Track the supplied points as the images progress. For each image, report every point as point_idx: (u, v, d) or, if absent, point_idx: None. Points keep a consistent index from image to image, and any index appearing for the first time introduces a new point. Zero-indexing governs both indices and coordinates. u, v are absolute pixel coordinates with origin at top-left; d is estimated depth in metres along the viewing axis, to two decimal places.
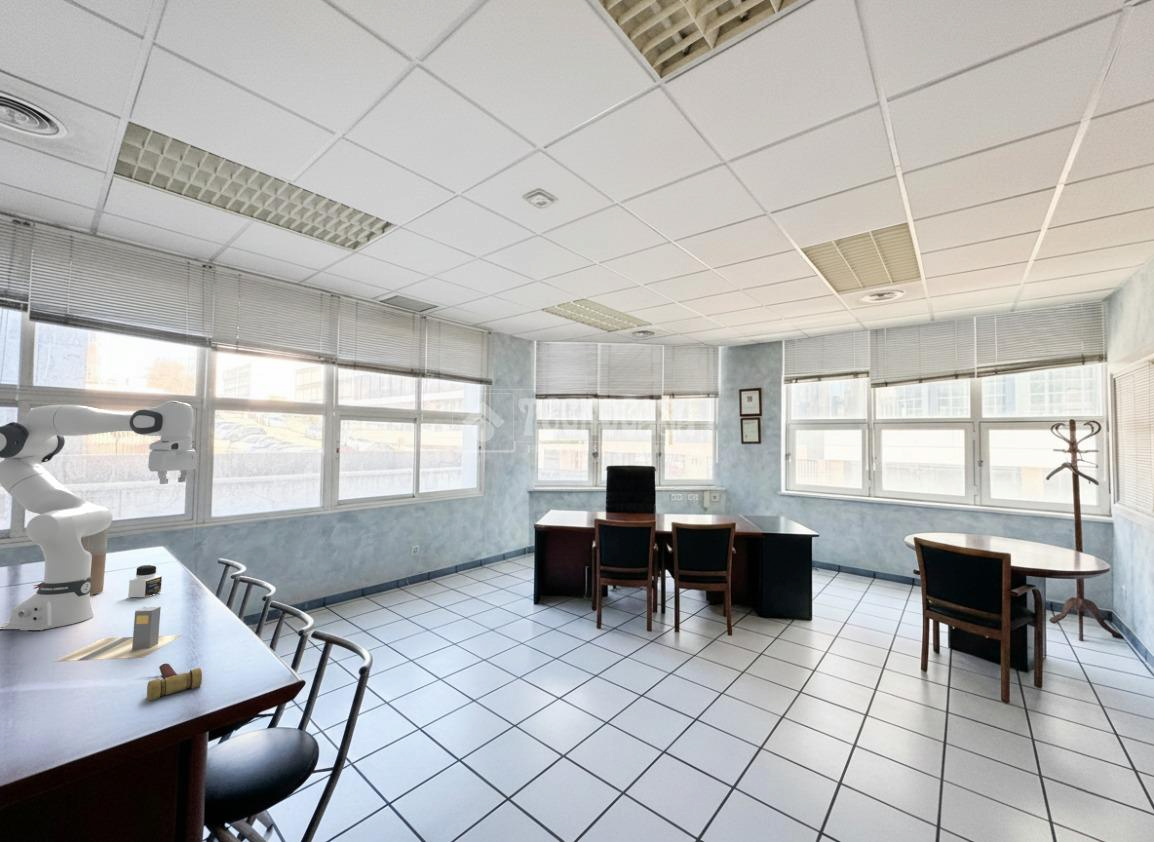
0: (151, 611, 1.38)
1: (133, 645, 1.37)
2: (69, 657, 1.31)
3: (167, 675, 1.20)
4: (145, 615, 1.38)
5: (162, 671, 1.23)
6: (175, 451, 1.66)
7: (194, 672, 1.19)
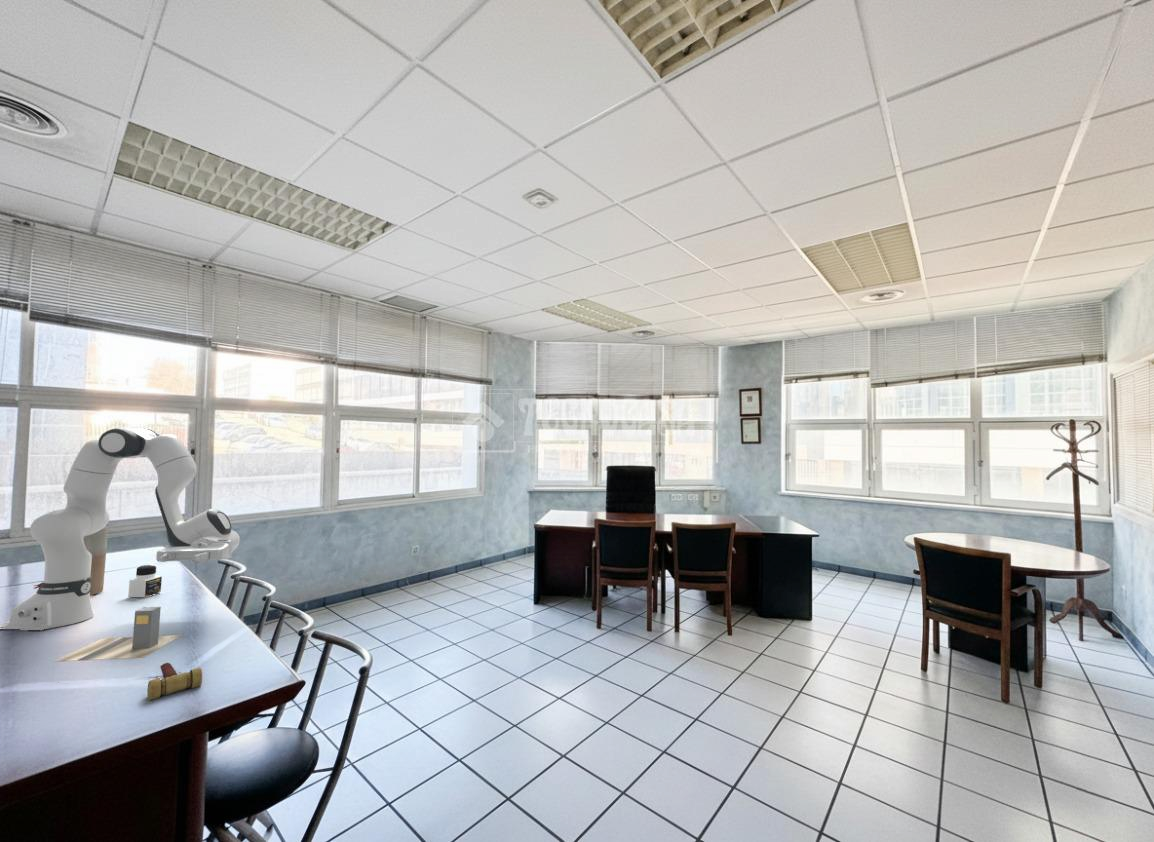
0: (151, 611, 1.38)
1: (133, 645, 1.37)
2: (69, 657, 1.31)
3: (167, 675, 1.20)
4: (145, 615, 1.38)
5: (163, 670, 1.24)
6: None
7: (194, 671, 1.19)
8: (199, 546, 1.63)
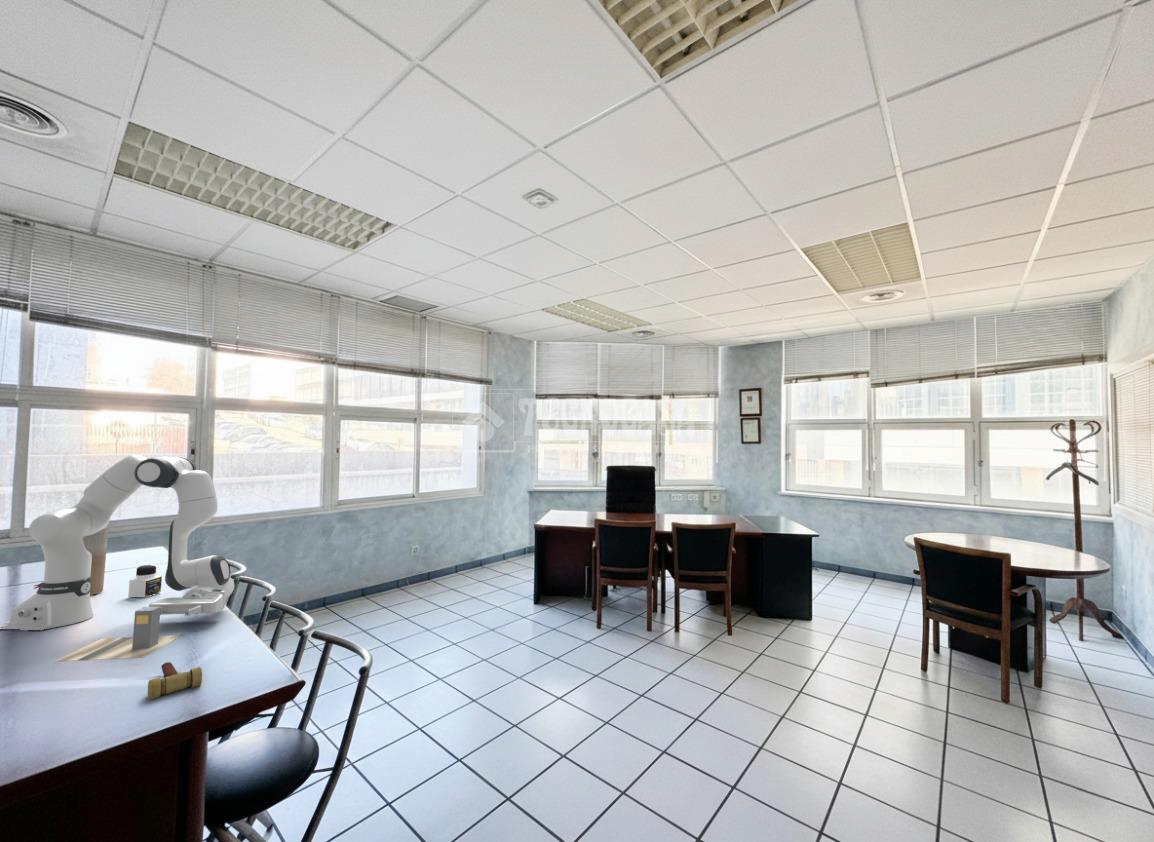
0: (151, 611, 1.38)
1: (133, 645, 1.37)
2: (69, 657, 1.31)
3: (168, 674, 1.20)
4: (145, 615, 1.38)
5: (164, 670, 1.24)
6: None
7: (194, 671, 1.20)
8: (192, 597, 1.60)
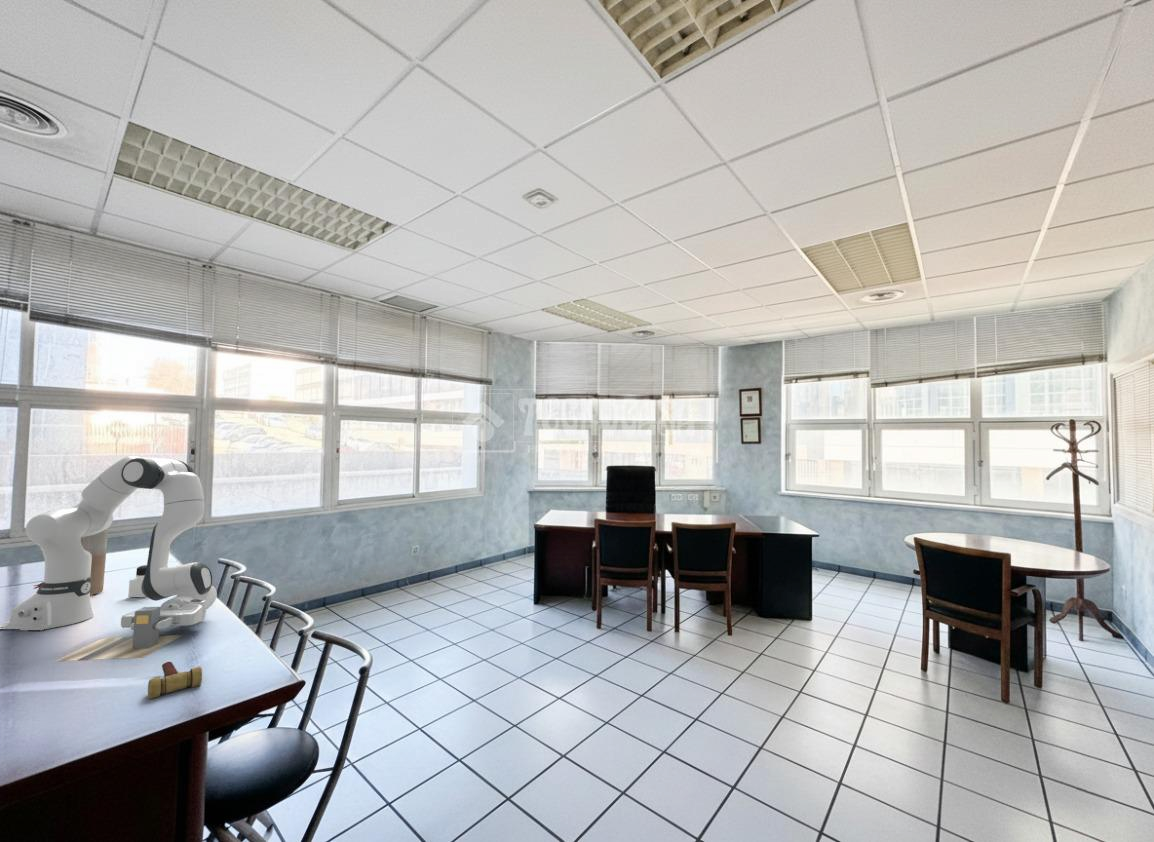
0: (151, 611, 1.38)
1: (133, 645, 1.37)
2: (69, 657, 1.31)
3: (168, 674, 1.21)
4: (145, 615, 1.38)
5: (164, 669, 1.24)
6: None
7: (194, 670, 1.20)
8: (169, 608, 1.49)
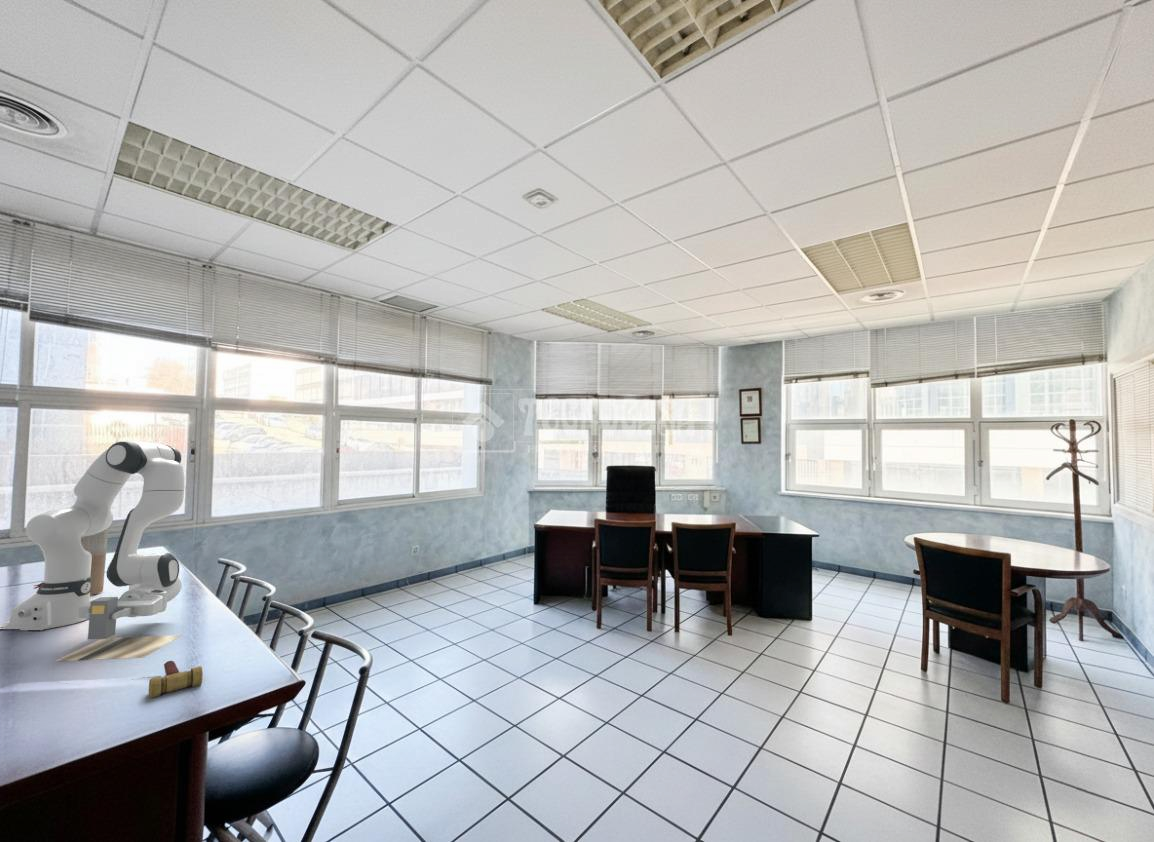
0: (107, 601, 1.37)
1: (89, 635, 1.36)
2: (69, 657, 1.31)
3: (169, 673, 1.21)
4: (101, 605, 1.37)
5: (166, 668, 1.25)
6: None
7: (194, 670, 1.20)
8: (129, 599, 1.47)
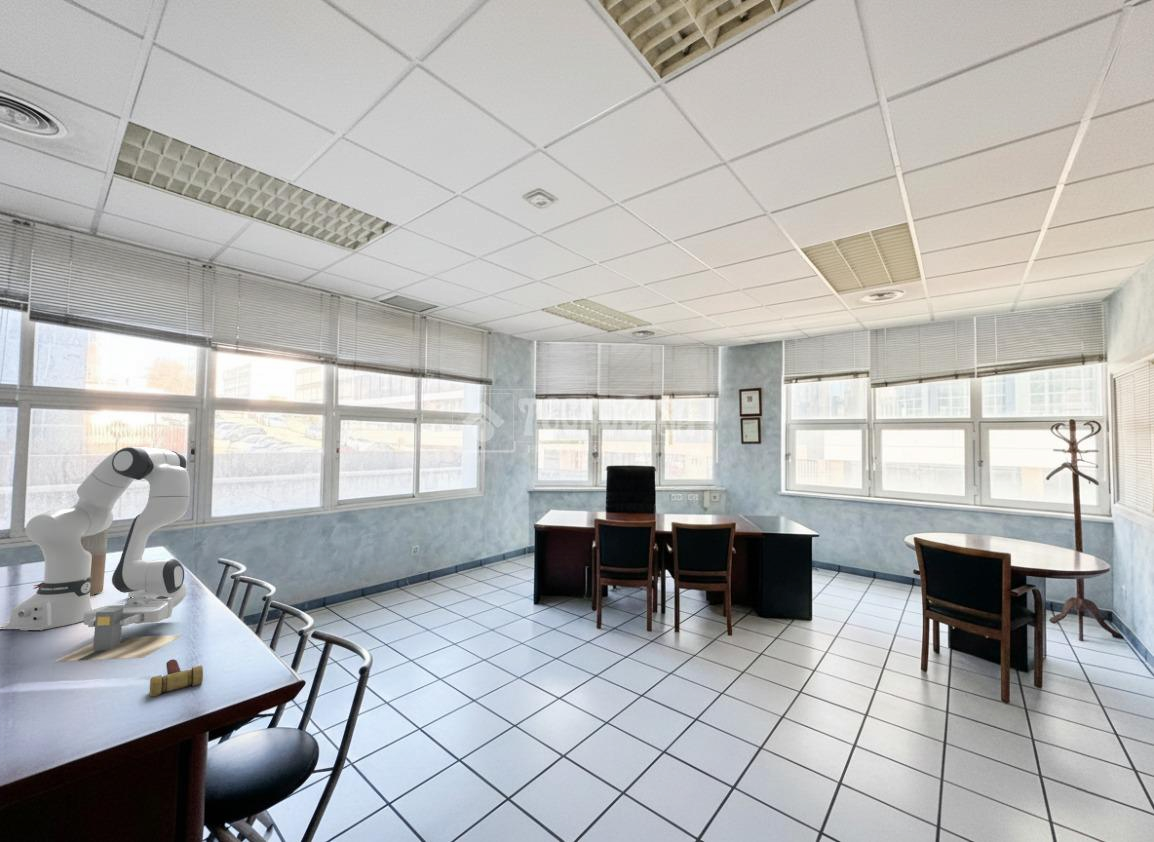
0: (112, 612, 1.37)
1: (94, 647, 1.36)
2: (69, 657, 1.31)
3: (170, 672, 1.22)
4: (107, 616, 1.37)
5: (168, 667, 1.25)
6: None
7: (195, 669, 1.20)
8: (134, 605, 1.48)
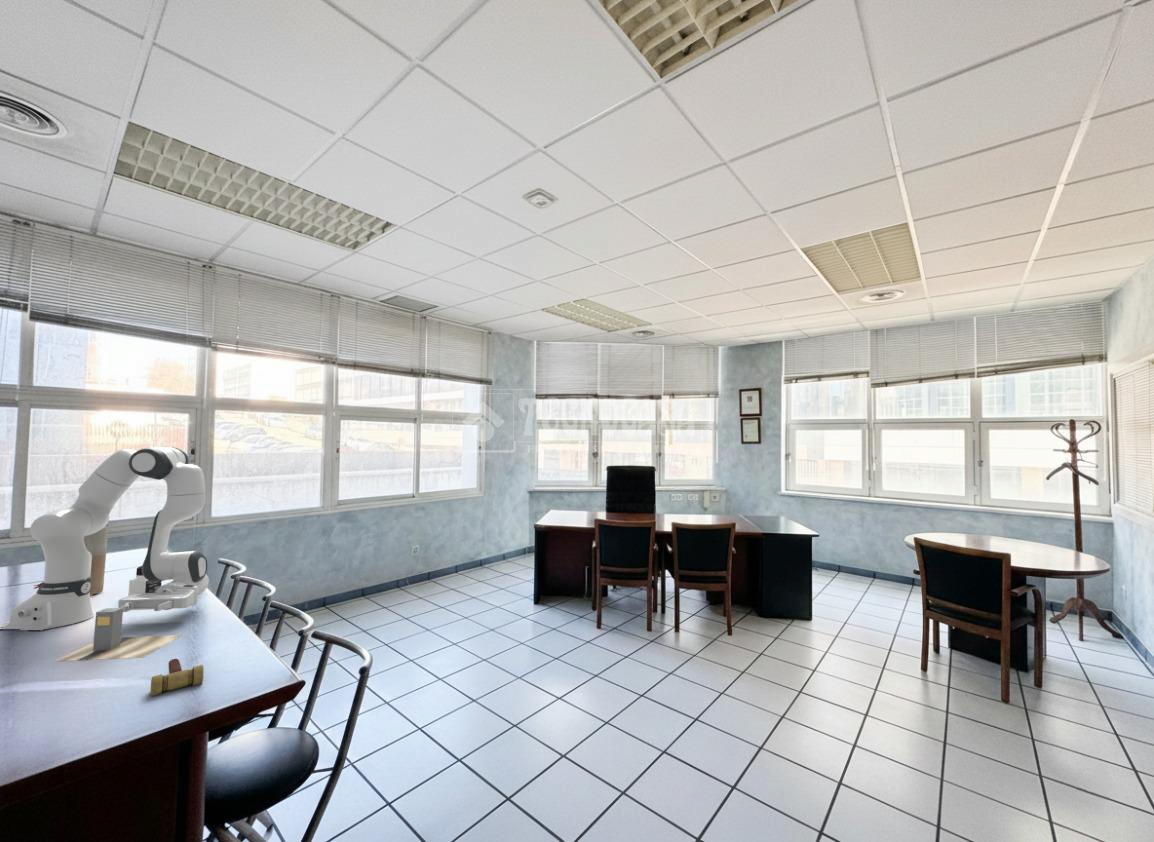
0: (112, 612, 1.37)
1: (94, 647, 1.36)
2: (69, 657, 1.31)
3: (172, 671, 1.22)
4: (107, 616, 1.37)
5: (169, 666, 1.26)
6: None
7: (196, 669, 1.21)
8: (163, 593, 1.60)
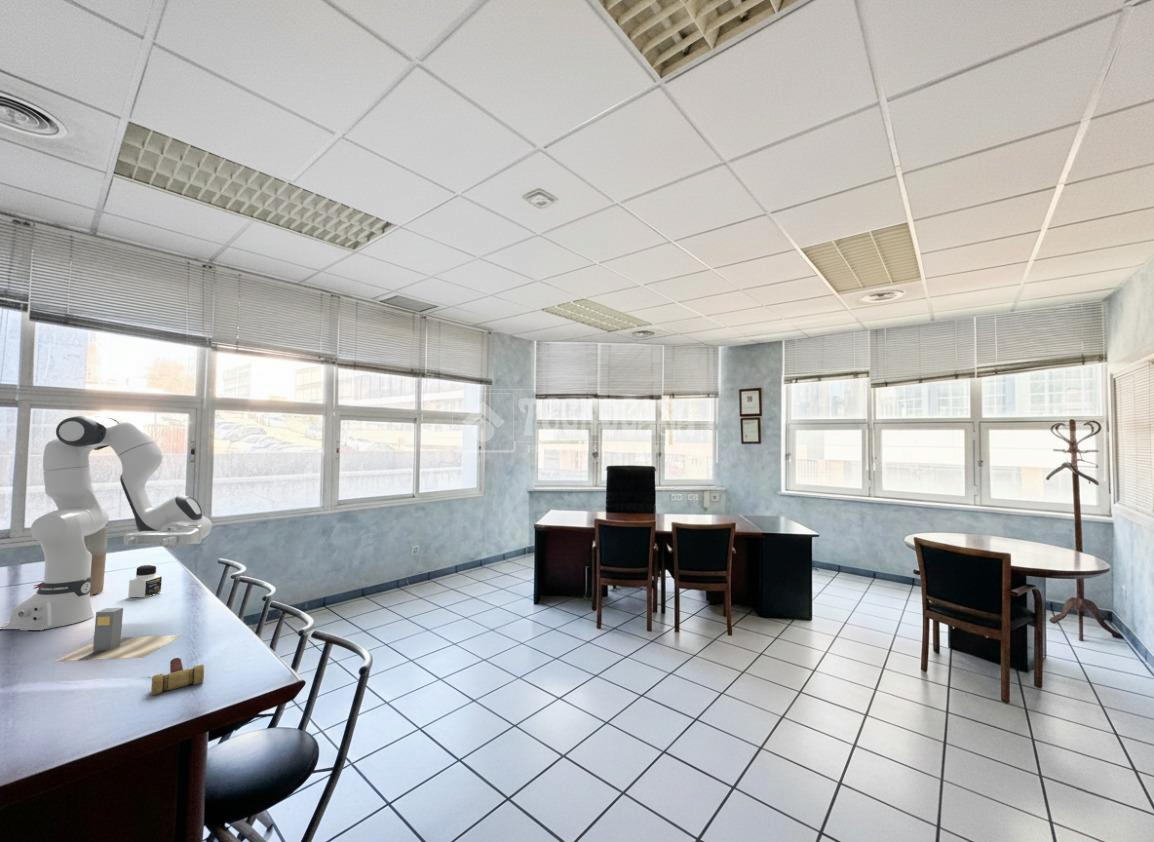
0: (112, 612, 1.37)
1: (94, 647, 1.36)
2: (69, 657, 1.31)
3: (173, 670, 1.23)
4: (107, 616, 1.37)
5: (171, 665, 1.26)
6: None
7: (196, 668, 1.21)
8: (168, 531, 1.62)
